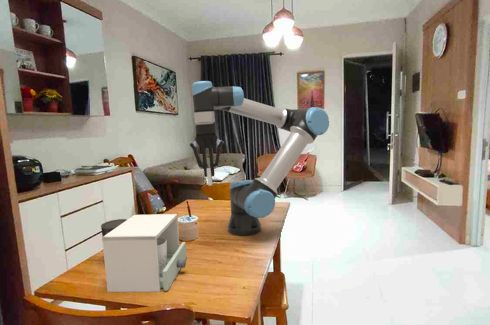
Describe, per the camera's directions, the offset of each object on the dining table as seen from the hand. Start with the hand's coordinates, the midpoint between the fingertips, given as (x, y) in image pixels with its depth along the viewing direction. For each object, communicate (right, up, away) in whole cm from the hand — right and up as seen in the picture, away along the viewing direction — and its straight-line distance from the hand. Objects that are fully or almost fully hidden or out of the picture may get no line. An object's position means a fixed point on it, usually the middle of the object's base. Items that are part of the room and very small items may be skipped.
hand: (210, 184), depth 119 cm
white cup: (-16, -27, -17) cm, 36 cm away
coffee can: (-33, -28, -4) cm, 44 cm away
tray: (-16, -28, -16) cm, 36 cm away
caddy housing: (-19, -29, -16) cm, 38 cm away
